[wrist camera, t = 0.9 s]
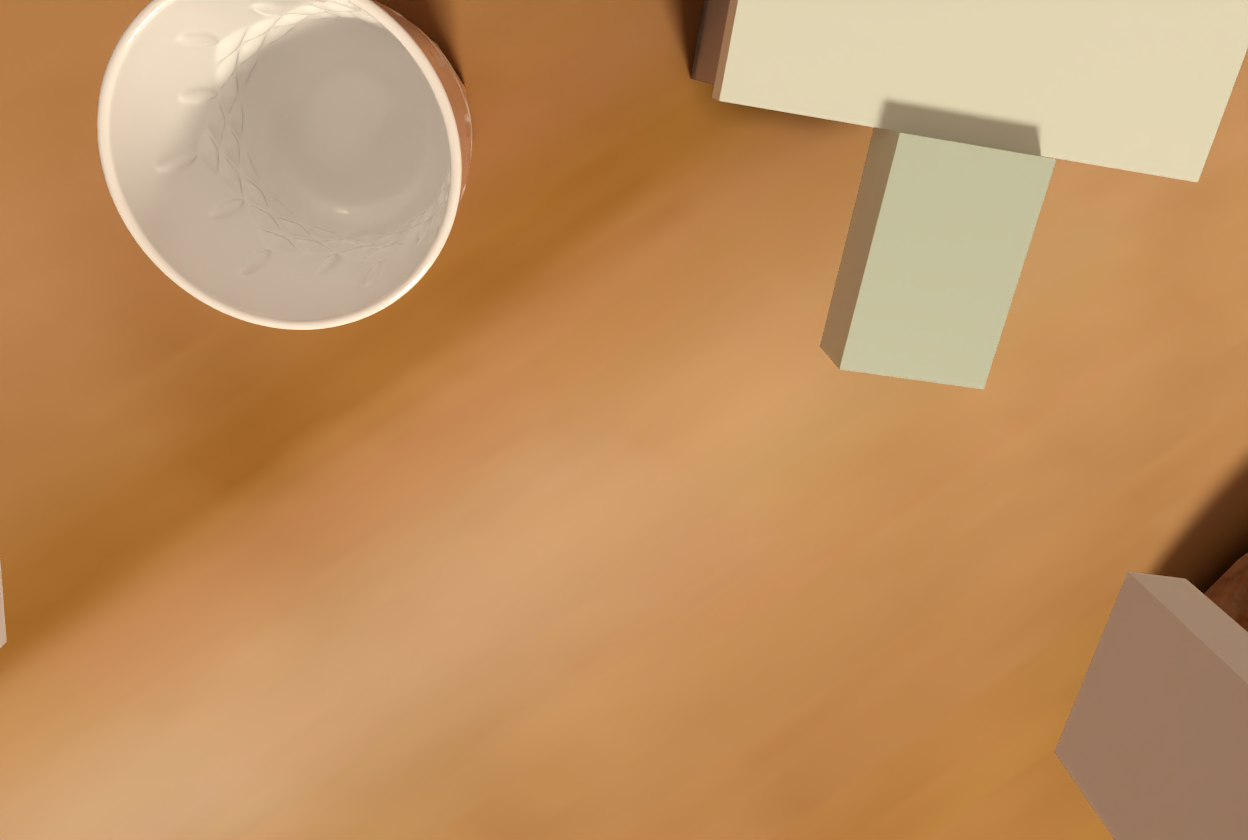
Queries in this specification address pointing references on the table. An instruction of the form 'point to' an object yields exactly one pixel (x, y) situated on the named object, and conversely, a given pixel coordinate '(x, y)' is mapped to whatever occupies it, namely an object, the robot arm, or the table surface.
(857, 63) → the lid
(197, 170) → the white cup
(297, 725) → the table surface
